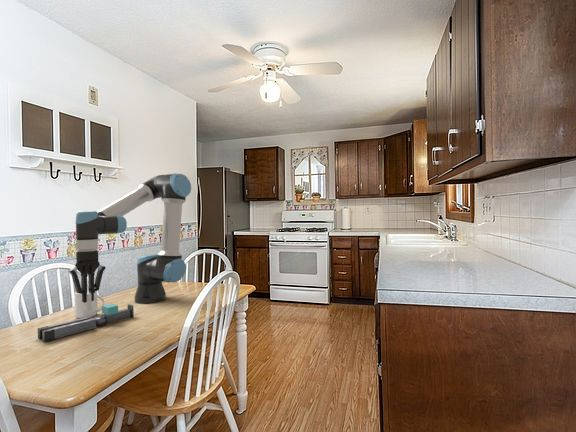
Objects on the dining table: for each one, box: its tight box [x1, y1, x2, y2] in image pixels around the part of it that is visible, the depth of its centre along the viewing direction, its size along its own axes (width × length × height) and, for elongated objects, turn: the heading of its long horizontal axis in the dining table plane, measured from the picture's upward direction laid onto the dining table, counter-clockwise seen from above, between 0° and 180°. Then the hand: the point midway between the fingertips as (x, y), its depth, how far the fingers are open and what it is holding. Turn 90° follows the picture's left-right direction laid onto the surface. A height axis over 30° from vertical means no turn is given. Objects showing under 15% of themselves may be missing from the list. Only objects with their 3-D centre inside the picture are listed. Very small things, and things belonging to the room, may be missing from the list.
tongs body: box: [37, 303, 135, 340], centre depth 136 cm, size 33×6×5 cm, turn 141°
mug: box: [74, 288, 105, 319], centre depth 151 cm, size 9×12×11 cm
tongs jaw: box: [41, 317, 97, 343], centre depth 128 cm, size 17×3×4 cm, turn 141°
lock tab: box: [101, 302, 119, 315], centre depth 141 cm, size 4×6×3 cm, turn 51°
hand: (88, 309), depth 135 cm, fingers closed
